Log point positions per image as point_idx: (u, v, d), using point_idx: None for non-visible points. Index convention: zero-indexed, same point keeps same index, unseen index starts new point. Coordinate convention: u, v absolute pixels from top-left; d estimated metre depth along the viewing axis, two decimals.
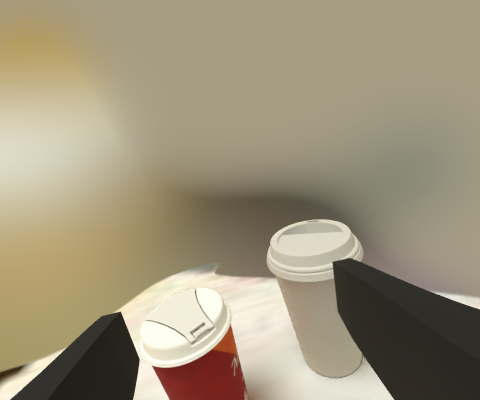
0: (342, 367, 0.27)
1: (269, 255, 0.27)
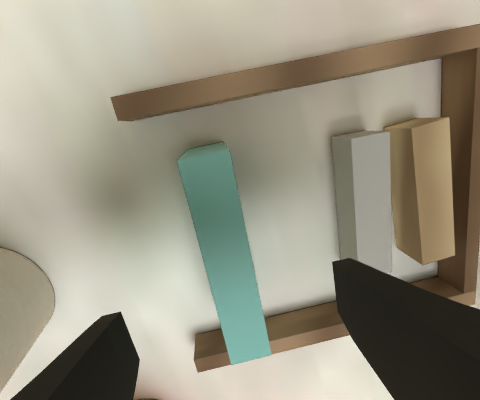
0: (39, 300, 0.15)
1: None
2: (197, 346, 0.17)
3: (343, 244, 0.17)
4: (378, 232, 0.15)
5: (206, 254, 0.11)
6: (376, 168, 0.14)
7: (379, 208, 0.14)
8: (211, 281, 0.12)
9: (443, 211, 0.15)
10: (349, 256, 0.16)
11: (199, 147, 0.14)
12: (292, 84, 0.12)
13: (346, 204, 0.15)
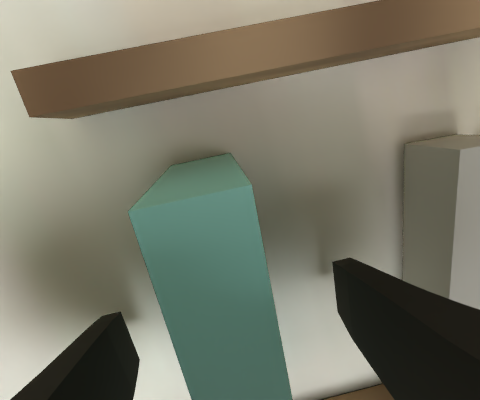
0: None
1: None
2: None
3: None
4: None
5: (200, 394, 0.05)
6: None
7: None
8: None
9: None
10: None
11: (190, 163, 0.08)
12: (361, 49, 0.07)
13: (429, 254, 0.09)
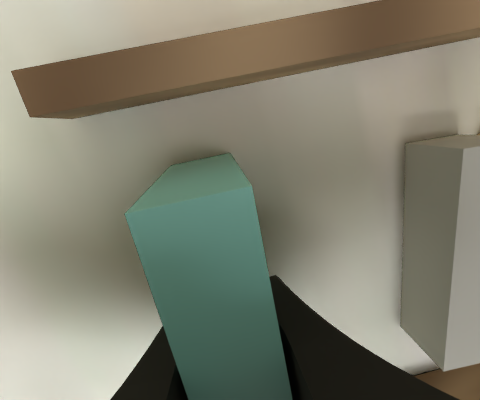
0: None
1: None
2: None
3: (411, 308, 0.11)
4: None
5: None
6: None
7: None
8: None
9: None
10: (423, 330, 0.10)
11: (189, 163, 0.08)
12: (361, 50, 0.07)
13: (431, 253, 0.09)
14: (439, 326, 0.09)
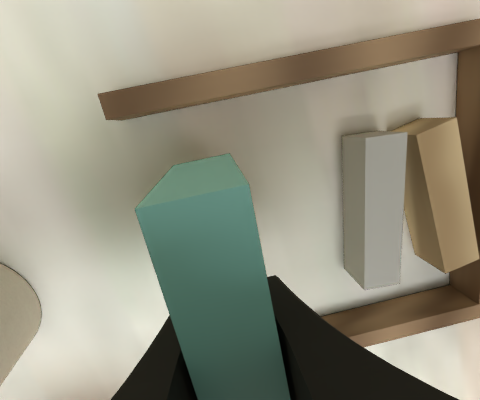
0: (23, 314, 0.14)
1: None
2: None
3: (348, 251, 0.16)
4: (388, 241, 0.14)
5: (201, 380, 0.06)
6: (390, 171, 0.13)
7: (391, 215, 0.13)
8: None
9: (461, 215, 0.14)
10: (354, 265, 0.15)
11: (191, 163, 0.09)
12: (298, 80, 0.11)
13: (355, 209, 0.14)
14: (361, 258, 0.14)
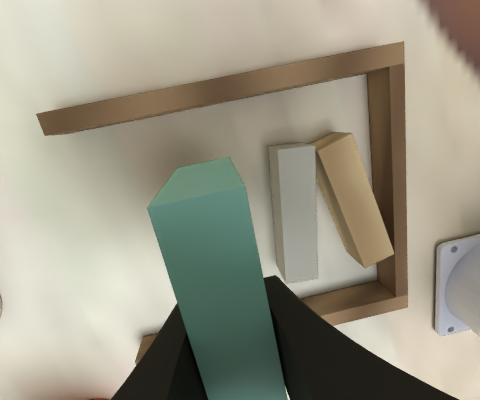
0: None
1: None
2: (141, 348, 0.18)
3: (277, 249, 0.17)
4: (304, 240, 0.15)
5: (203, 359, 0.07)
6: (302, 179, 0.14)
7: (305, 217, 0.15)
8: (212, 398, 0.07)
9: (371, 217, 0.15)
10: (280, 261, 0.17)
11: (193, 166, 0.10)
12: (212, 101, 0.13)
13: (277, 211, 0.16)
14: (283, 255, 0.16)
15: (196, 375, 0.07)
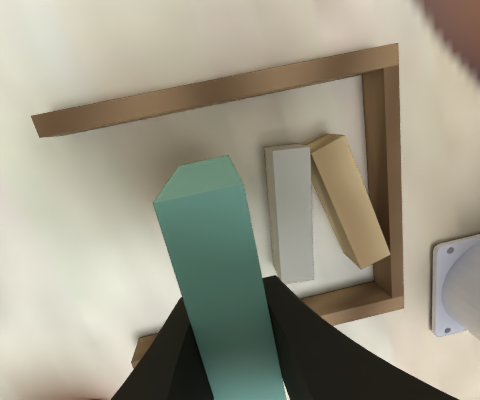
0: None
1: None
2: (137, 349, 0.18)
3: (274, 250, 0.17)
4: (300, 241, 0.15)
5: (204, 344, 0.07)
6: (297, 180, 0.14)
7: (301, 218, 0.15)
8: (212, 381, 0.07)
9: (366, 218, 0.15)
10: (276, 262, 0.17)
11: (194, 164, 0.10)
12: (207, 102, 0.13)
13: (273, 212, 0.16)
14: (279, 256, 0.16)
15: (196, 375, 0.07)
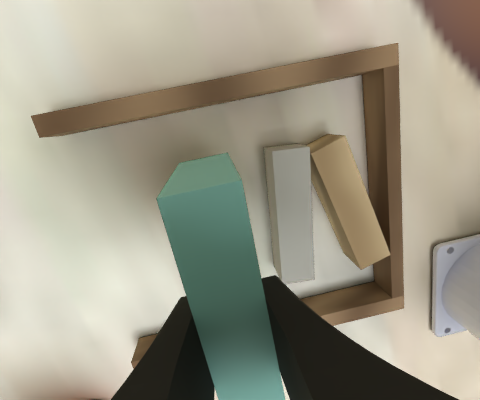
0: None
1: None
2: (137, 349, 0.18)
3: (274, 250, 0.17)
4: (300, 241, 0.15)
5: (205, 332, 0.07)
6: (297, 180, 0.14)
7: (301, 218, 0.15)
8: (212, 368, 0.08)
9: (366, 218, 0.16)
10: (277, 262, 0.17)
11: (194, 161, 0.10)
12: (207, 102, 0.13)
13: (273, 212, 0.16)
14: (279, 256, 0.16)
15: (196, 375, 0.07)
